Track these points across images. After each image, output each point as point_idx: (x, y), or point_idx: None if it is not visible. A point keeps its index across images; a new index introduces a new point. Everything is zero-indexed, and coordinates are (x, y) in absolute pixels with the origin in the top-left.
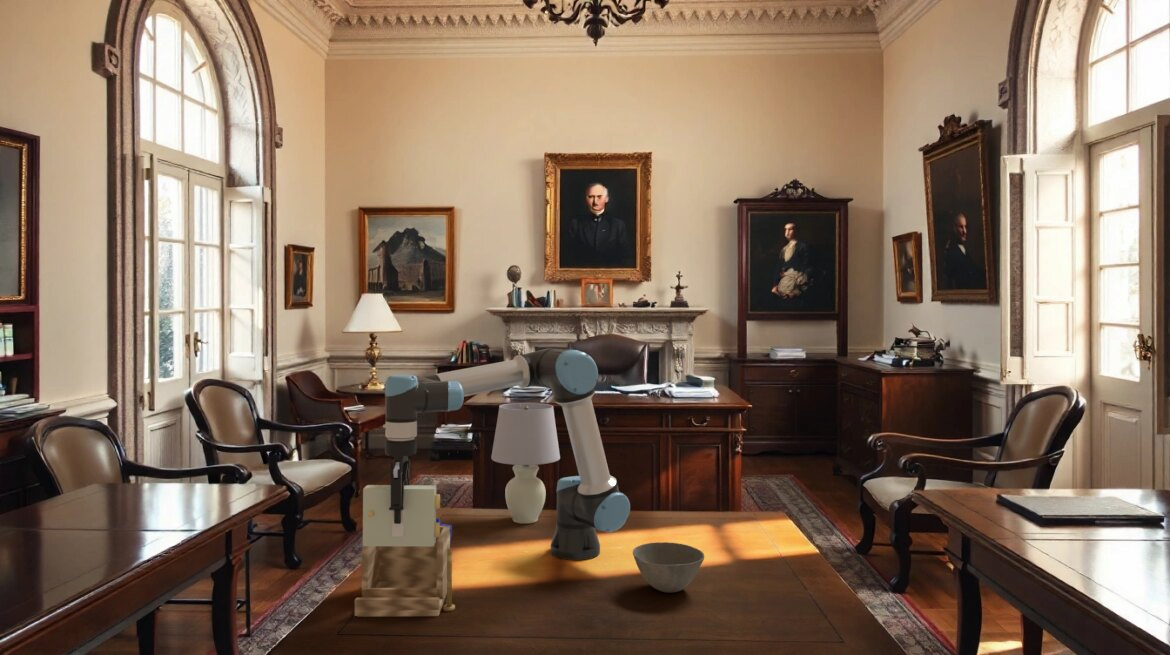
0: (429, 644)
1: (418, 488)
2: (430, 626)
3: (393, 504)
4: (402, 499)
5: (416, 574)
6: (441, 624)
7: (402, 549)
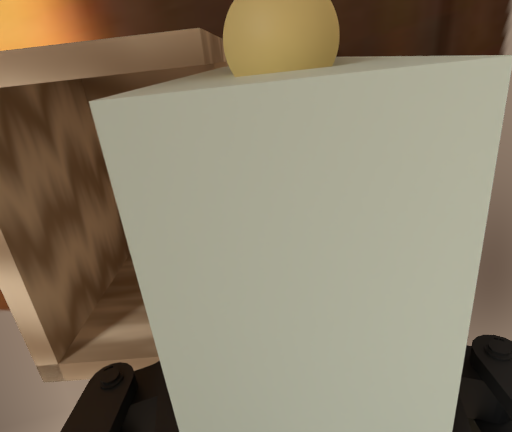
0: (505, 6)
1: (413, 372)
2: (383, 37)
3: (505, 420)
4: (460, 402)
5: (95, 165)
6: (370, 6)
7: (71, 239)
